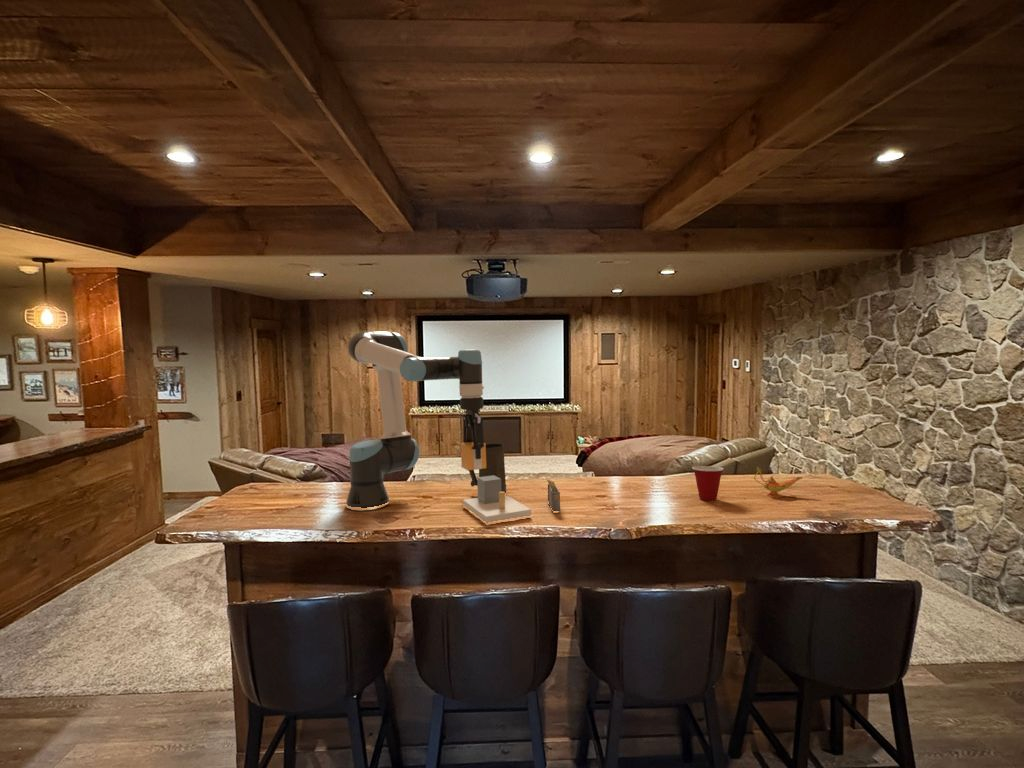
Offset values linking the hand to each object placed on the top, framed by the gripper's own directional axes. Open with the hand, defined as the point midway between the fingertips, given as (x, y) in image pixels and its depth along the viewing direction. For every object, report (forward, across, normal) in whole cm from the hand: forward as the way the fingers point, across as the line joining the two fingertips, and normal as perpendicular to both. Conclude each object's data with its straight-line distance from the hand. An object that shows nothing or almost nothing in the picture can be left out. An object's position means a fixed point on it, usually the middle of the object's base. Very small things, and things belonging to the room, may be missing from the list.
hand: (474, 466), depth 169 cm
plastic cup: (+19, -16, -84) cm, 88 cm away
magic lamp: (+19, -24, -110) cm, 115 cm away
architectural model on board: (+19, 0, -29) cm, 34 cm away
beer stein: (+18, +27, -14) cm, 35 cm away
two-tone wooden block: (0, 0, 0) cm, 0 cm away
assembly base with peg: (+18, +4, -9) cm, 20 cm away
